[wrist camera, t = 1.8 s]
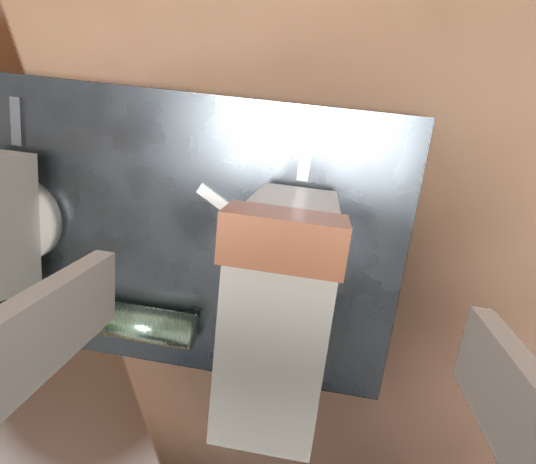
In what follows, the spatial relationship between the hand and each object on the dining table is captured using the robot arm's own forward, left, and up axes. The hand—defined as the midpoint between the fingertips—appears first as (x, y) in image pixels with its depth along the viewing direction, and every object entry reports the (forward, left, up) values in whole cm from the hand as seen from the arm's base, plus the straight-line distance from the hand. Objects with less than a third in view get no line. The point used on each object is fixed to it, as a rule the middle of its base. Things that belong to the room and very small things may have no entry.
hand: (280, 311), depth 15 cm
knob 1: (0, 0, -8) cm, 8 cm away
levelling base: (0, +8, -10) cm, 13 cm away
